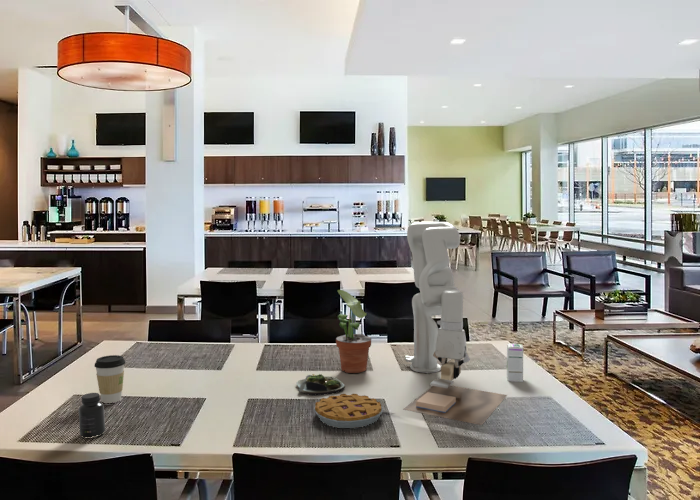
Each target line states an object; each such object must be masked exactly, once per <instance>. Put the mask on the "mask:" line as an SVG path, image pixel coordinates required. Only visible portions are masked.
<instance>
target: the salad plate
mask: <svg viewBox="0 0 700 500" xmlns="http://www.w3.org/2000/svg"><path fill="white" fill-rule="evenodd" d="M325 381H327V382H325ZM296 386H297V388H298V392H300V393H303V394H304V393H305V395H307V394H309V395H308V396H324V394H327V395H333V394H332V393H334V394H339V393H340V392H343V390H344V389H345V387H346V384H344V383H343V381H341V380H340V379H338V378H337V377H335V376H324V375H323V374H322V373H321V374H320V373H319V374H314V373H312V374H307V375H306V376H305V378H302V379H300V380H298V381H296Z"/></svg>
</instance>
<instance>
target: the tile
mask: <svg viewBox="0 0 700 500" xmlns="http://www.w3.org/2000/svg"><path fill="white" fill-rule="evenodd" d="M455 403H456V397H452V396H447V395H441V394H435V393H430V392H427V393H426V394H425V395H423V396H422V397H421V398H419V399H418V400H417V401H416V407H418V408H423V409H428V410H433V411H438V412H443V413H446V412H447V411H448V410H449V409H450V408H451V407H452V406H453V405H454V404H455Z"/></svg>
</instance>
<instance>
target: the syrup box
mask: <svg viewBox="0 0 700 500" xmlns="http://www.w3.org/2000/svg"><path fill="white" fill-rule="evenodd" d="M506 379H507V382H520V383H523V382H524V346H523V344H522V343H507V344H506Z"/></svg>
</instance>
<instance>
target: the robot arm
mask: <svg viewBox="0 0 700 500" xmlns="http://www.w3.org/2000/svg"><path fill="white" fill-rule="evenodd" d="M406 232H407V233H406V237H407V243H408V246H409V248H410V249H409V250H410V251H411V254H412V263H413V267H412V268H413V279H414V284H415V287H416V288H418V289H419V291H420V292H418V293H416V294H414V295H413V297H412V298H411V307H412V313H413V329H414V330H413V356H411V355H405V358H404V360H405V362H407V363H410V366H409V368H410V370H412V371H413V372H416V373H421V374H422V373H424V374H432V373H433V374H434V373H437V372H441V367H442V366H443V365H444V364H446V363H447V362H448V360H449V359H450V360H451V359H455V367H454V379H453V380H456V379H458V377H459V376H460V374H461V373H460V366H461V367H462V365H463V364H465V363H467V362H469V361H471V358H470V357H469V355H468V351H467V338H466V331H465V329H463V327H464V322H463V319H464V294H463V292H462V291H461V290H460V289H459V288H458V287H457V286H455V278H454V273H453V270H452V268H451V267H450V266H449V264H451V263H450V256H449V252H448V249H451V250H452V249H457V248H458V247H459V246H460V243H461V236H460V232H459V230H458V229H457V228H456V227H455V226H454V225H452V223H450V222H447V221H421V222H419V221H418V222H413V223H411V224H410V225H408V227H407V231H406ZM436 316H440V320H437V321H435V320H434V319H433V317H436ZM438 325H439V326H440V327H438ZM438 362H439V363H440V364H439V363H438ZM459 373H460V374H459Z"/></svg>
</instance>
